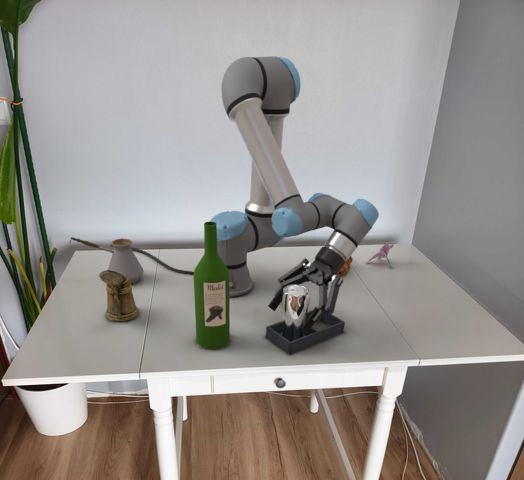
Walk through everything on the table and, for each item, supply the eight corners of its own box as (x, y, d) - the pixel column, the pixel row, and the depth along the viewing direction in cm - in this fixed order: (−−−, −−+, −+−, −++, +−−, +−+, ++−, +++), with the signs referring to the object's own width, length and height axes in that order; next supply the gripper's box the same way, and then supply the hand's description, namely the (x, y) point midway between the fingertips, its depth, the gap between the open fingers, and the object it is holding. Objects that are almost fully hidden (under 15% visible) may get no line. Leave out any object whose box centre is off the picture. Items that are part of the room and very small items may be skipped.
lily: (395, 261, 187) (388, 237, 185) (410, 261, 176) (402, 235, 173) (367, 274, 186) (359, 249, 184) (380, 274, 174) (371, 248, 172)
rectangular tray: (265, 337, 137) (266, 326, 135) (318, 317, 147) (320, 307, 145) (289, 354, 130) (290, 343, 128) (343, 332, 141) (344, 321, 139)
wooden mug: (99, 330, 137) (89, 270, 127) (110, 306, 148) (101, 249, 138) (132, 330, 138) (124, 270, 128) (140, 307, 149) (134, 250, 139)
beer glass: (303, 348, 133) (307, 297, 125) (277, 344, 134) (280, 294, 126) (306, 334, 138) (311, 285, 130) (281, 331, 140) (284, 282, 131)
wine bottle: (202, 352, 130) (197, 231, 112) (192, 335, 137) (186, 219, 119) (234, 345, 133) (234, 227, 115) (223, 329, 140) (221, 215, 122)
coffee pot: (144, 271, 170) (140, 228, 162) (143, 286, 160) (138, 241, 152) (79, 273, 167) (71, 230, 158) (74, 289, 157) (65, 244, 149)
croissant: (324, 263, 189) (316, 245, 186) (349, 252, 187) (341, 233, 183) (331, 286, 171) (323, 267, 168) (359, 274, 169) (351, 254, 165)
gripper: (375, 278, 125) (325, 346, 126) (309, 246, 142) (265, 306, 142) (364, 263, 120) (311, 334, 120) (297, 231, 136) (251, 294, 136)
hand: (286, 319), depth 131 cm, fingers open, 13 cm apart
